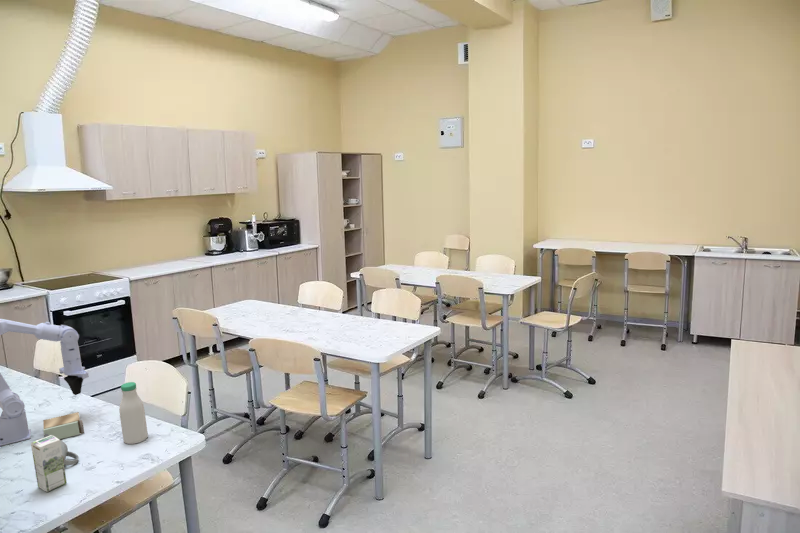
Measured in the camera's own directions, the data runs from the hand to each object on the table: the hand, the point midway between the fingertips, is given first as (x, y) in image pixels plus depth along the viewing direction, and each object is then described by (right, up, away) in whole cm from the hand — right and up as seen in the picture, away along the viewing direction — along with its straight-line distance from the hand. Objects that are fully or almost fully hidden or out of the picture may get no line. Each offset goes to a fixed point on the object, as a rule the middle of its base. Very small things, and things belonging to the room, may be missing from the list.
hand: (77, 393), depth 216 cm
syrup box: (+17, -18, -44) cm, 50 cm away
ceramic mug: (+12, -16, -32) cm, 37 cm away
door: (+3, -12, -14) cm, 19 cm away
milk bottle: (+29, -12, -17) cm, 36 cm away
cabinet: (+1, -12, -10) cm, 15 cm away
